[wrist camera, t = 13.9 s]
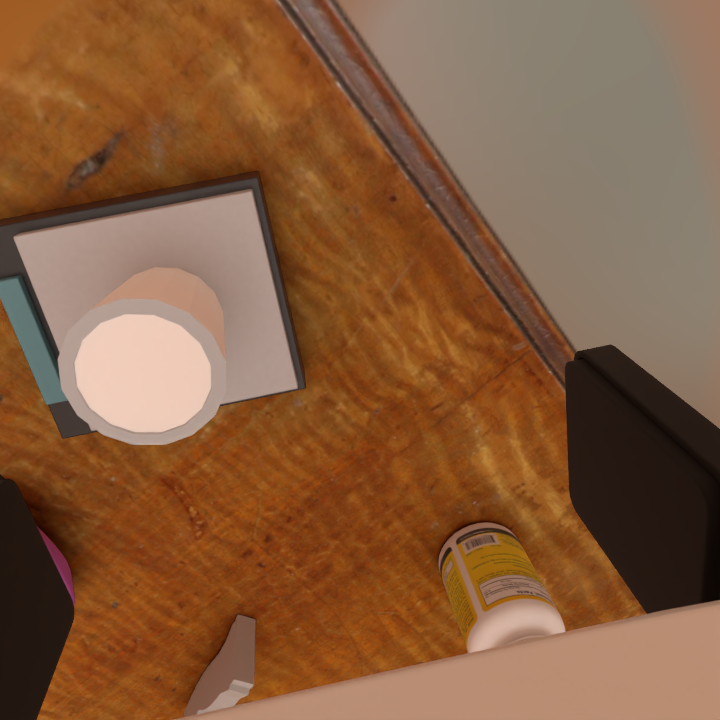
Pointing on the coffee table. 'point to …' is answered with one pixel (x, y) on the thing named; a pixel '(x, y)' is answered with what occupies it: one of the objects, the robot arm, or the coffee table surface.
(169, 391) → the shot glass
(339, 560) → the coffee table surface
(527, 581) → the pill bottle
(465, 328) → the coffee table surface
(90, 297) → the scale
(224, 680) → the serrated bird-shaped piece
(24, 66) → the coffee table surface
